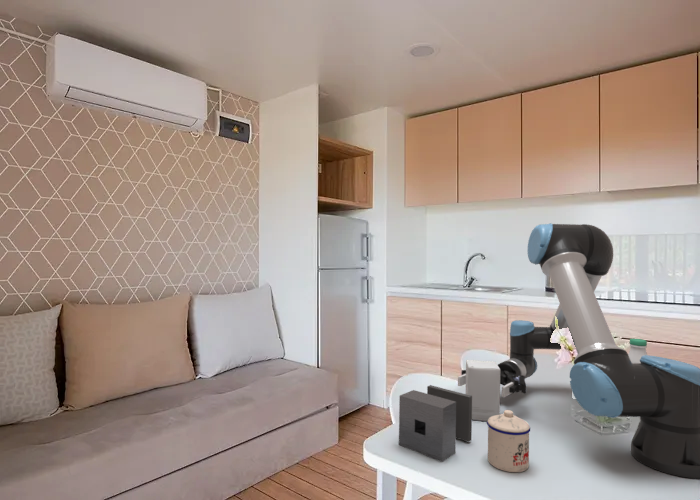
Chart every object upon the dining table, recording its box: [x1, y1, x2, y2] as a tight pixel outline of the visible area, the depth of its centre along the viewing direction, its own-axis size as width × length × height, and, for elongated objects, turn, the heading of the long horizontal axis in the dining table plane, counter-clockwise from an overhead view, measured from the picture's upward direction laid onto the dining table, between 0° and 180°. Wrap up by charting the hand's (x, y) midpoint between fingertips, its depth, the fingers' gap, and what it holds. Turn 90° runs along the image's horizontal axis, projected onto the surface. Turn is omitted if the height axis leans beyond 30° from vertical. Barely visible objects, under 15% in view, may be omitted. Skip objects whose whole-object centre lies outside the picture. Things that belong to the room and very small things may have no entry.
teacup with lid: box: [486, 409, 531, 473], centre depth 96 cm, size 12×9×12 cm
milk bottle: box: [627, 338, 648, 363], centre depth 137 cm, size 8×8×20 cm
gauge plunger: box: [426, 384, 473, 443], centre depth 107 cm, size 14×10×11 cm, turn 47°
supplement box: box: [465, 359, 501, 422], centre depth 123 cm, size 9×9×15 cm
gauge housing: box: [398, 389, 457, 463], centre depth 106 cm, size 15×15×12 cm
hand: (480, 386), depth 123 cm, fingers open, 13 cm apart
